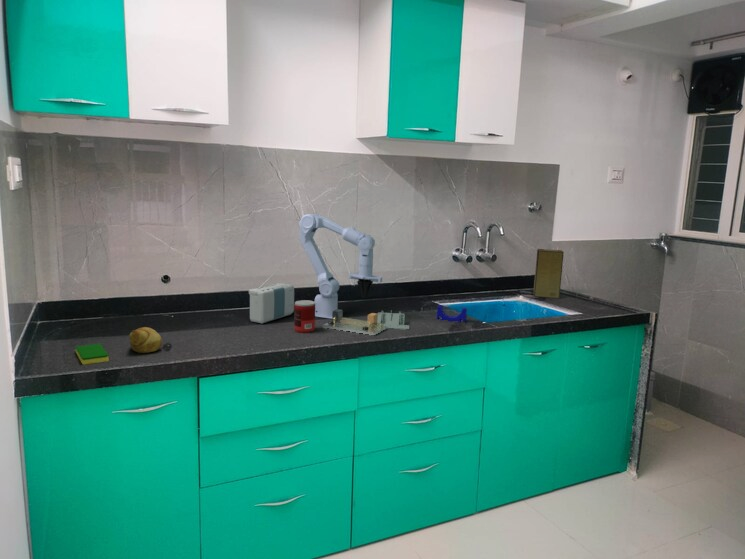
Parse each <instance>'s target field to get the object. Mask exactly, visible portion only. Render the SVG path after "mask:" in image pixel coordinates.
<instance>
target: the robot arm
mask: <svg viewBox="0 0 745 559" xmlns="http://www.w3.org/2000/svg"><path fill="white" fill-rule="evenodd" d="M298 225H299V234H298V236H299V237H298V238H299V241H300V243H301V245H302V247H303V249H304V251H305V253H306V255H307V257H308V260H309V262H310V263H311V267H313V270H314V272H315V275H316V276H317V284H318V289H319V290H318V291H319V293H320V294H316V296H315V298H314V302H315V317H316V318H317V317H319V318H323V319H324V318H325V319H329V320H332V313H333V311H334V310H336V309H338V304H339V302H338V301H339V300H338V298H339V294H338V291H339V289H340V286H341V285H340V282H339V281H338V280H337V279H336V277H334V275H333V274H332V272H330V270H329V268H328V267H327V264H326V263H325V260H324V258H323V256H322V253H321V251H320V250H319V247H318V245H317V243H316V241H315V239H314V236H315V234H316V233H317V232H316V231H317V230H318V229H319V228H320V229H321V228H322V229H323V228H325V229H327V230H329V231H332V232H334V233H336V234H339V235H340V236H341V237H342V240H344V241H346V242H348V243H350V244H352V245H353V246H356V247H358V249H359V254H358V273H348V280H358V281H356V284H357V285H358V287H359V290H360V293H361V298H363V299H366V298H368V294H369V291H370V288H371V286H372V284H373V282H375V283H383V276H378V275H377V276H376V275H373V263H374V246H375V245H376V242H375V239H374V237H373V236H372V235H370V234H369V235H368V234H367V235H366V232H361V231H359V230H357V229H356V228H355V226H352V227H350V226H348V227H344V226H341V225H340V224H338V223H337V222H335V221H333V220H332V219H329V218H327V217H325V216H323V215H319V214H318V213H316V212H315V213H311V214H304V215H303V216H301V218H300V221H299V222H298Z"/></svg>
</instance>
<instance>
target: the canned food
mask: <svg viewBox="0 0 745 559" xmlns="http://www.w3.org/2000/svg"><path fill="white" fill-rule="evenodd" d="M314 301H315V300H314ZM314 301H313V300H307V299H306V300H305V299H301V300H296V301H294V321H293V322H294V324H293V325H294V331H295V332H296V333H299V332H300V334H309V333H308V332H310V333H313V332H315V329H316V316H315V302H314Z"/></svg>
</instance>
